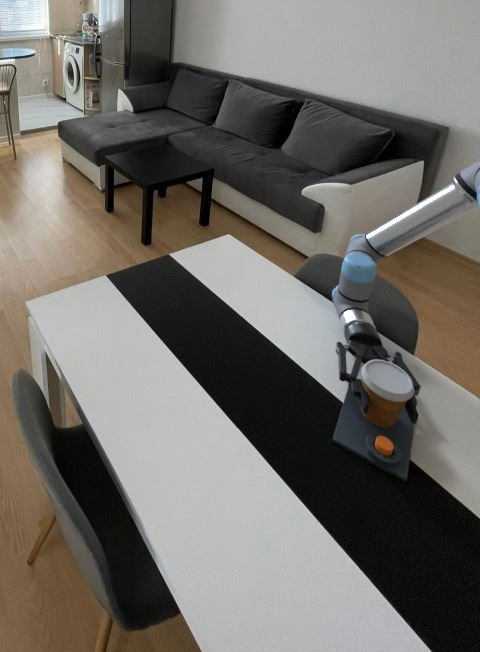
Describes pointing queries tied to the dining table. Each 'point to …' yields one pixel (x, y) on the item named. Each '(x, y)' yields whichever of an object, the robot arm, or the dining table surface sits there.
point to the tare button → (384, 446)
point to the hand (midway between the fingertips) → (390, 413)
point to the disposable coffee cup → (385, 391)
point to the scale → (374, 437)
